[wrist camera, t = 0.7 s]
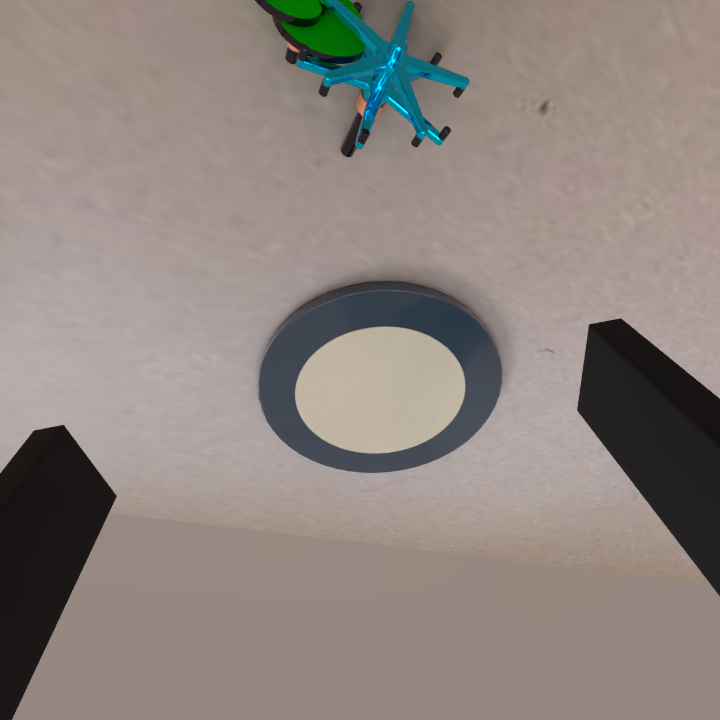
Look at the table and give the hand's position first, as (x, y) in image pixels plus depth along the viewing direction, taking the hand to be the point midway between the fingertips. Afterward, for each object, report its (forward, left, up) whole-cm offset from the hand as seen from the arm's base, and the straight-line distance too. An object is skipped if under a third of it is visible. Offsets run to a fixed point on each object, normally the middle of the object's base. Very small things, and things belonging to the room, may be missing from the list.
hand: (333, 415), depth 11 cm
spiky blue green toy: (-3, -5, -20) cm, 21 cm away
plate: (+3, +17, -20) cm, 26 cm away
